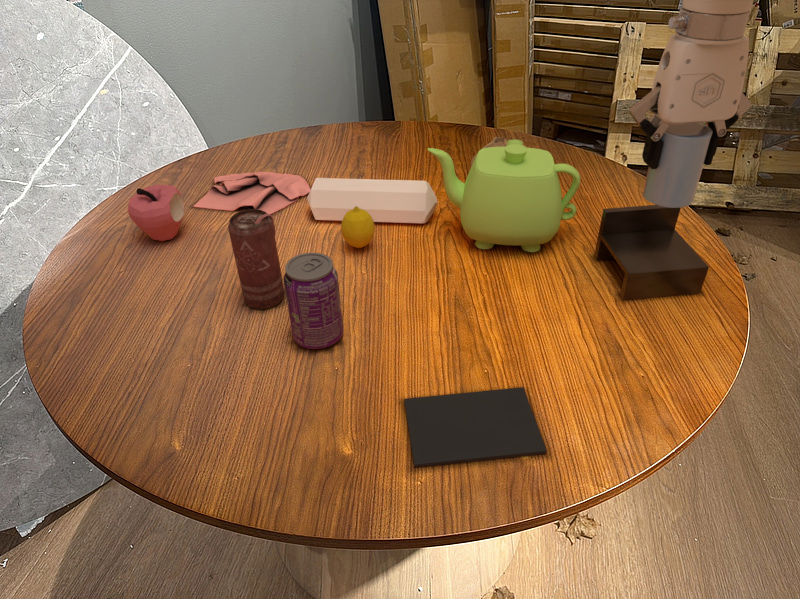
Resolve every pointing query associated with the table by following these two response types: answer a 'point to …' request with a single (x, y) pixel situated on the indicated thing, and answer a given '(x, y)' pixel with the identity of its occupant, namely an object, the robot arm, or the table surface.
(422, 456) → the mat
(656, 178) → the blue cup
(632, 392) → the table surface
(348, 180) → the crystal
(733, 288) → the table surface
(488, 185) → the teapot
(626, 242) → the shelf
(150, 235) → the apple
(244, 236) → the can
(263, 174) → the cloth
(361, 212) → the fruit
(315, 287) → the beverage can
